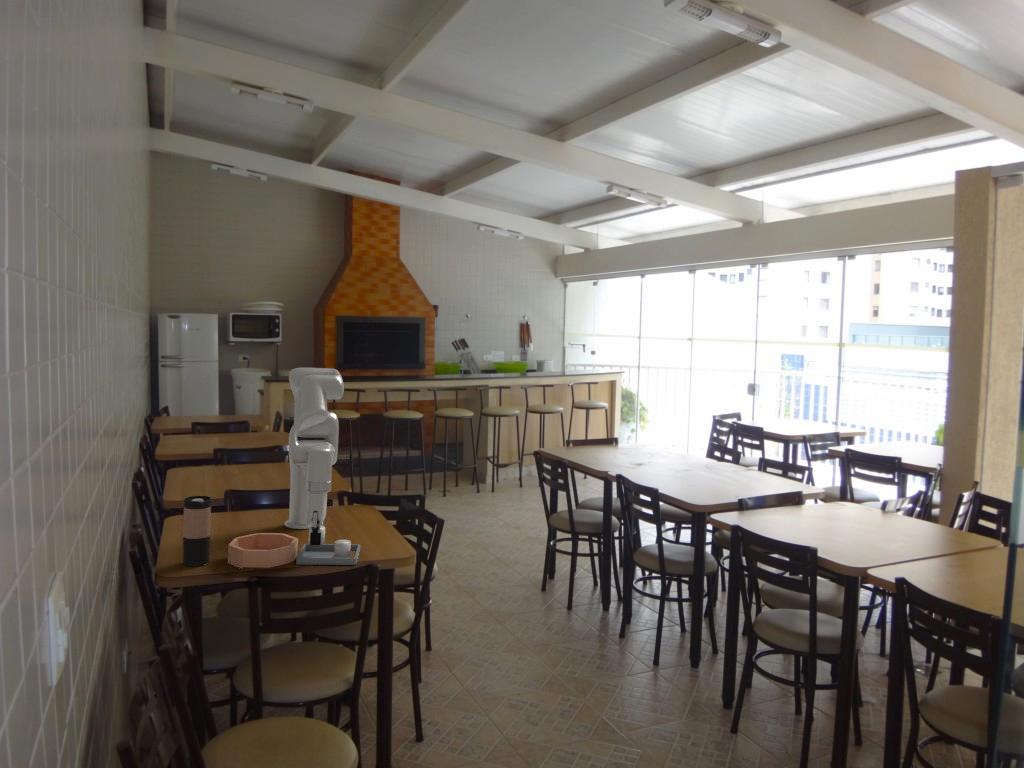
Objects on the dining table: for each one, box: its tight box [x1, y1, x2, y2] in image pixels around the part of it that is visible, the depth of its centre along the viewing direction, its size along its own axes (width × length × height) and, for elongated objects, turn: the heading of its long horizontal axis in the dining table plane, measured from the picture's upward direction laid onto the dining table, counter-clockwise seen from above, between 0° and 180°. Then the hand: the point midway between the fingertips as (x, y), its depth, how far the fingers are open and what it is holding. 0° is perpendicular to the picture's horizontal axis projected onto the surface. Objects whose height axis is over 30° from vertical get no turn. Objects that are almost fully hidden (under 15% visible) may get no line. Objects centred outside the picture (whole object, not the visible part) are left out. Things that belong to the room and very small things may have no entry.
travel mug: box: [182, 495, 212, 567], centre depth 218 cm, size 8×8×20 cm
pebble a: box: [308, 525, 326, 546], centre depth 228 cm, size 5×5×5 cm
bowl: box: [227, 532, 299, 570], centre depth 225 cm, size 20×20×6 cm
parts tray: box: [295, 543, 361, 566], centre depth 229 cm, size 15×18×3 cm
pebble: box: [334, 539, 352, 558], centre depth 229 cm, size 5×5×5 cm
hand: (316, 541), depth 229 cm, fingers closed on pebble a, 4 cm apart
